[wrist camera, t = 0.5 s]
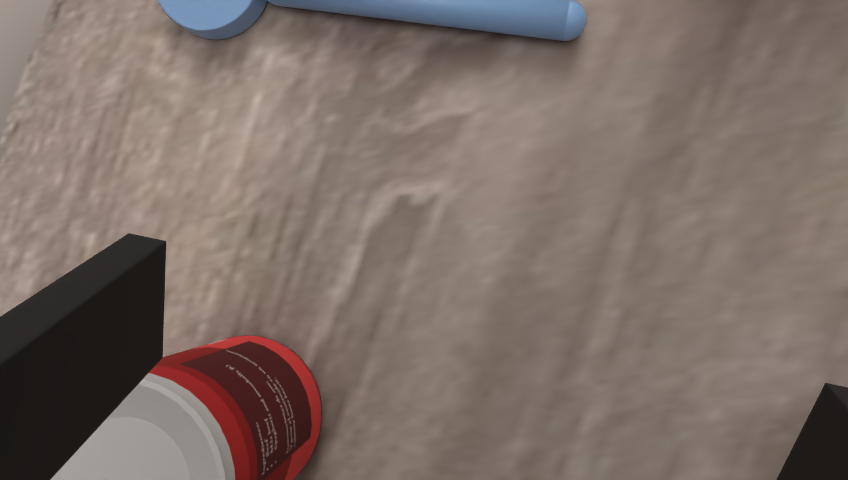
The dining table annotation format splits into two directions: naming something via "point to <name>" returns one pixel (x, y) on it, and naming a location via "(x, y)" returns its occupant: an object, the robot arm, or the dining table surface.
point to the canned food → (209, 418)
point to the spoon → (393, 14)
